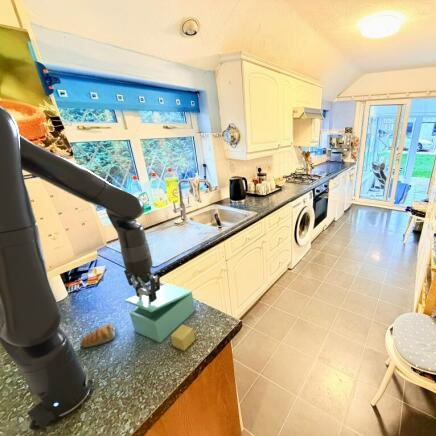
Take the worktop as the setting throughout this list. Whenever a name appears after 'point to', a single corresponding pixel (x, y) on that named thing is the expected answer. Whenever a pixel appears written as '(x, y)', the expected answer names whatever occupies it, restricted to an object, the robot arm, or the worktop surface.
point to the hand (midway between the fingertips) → (147, 298)
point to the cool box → (162, 318)
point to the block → (183, 337)
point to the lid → (158, 297)
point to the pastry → (99, 336)
